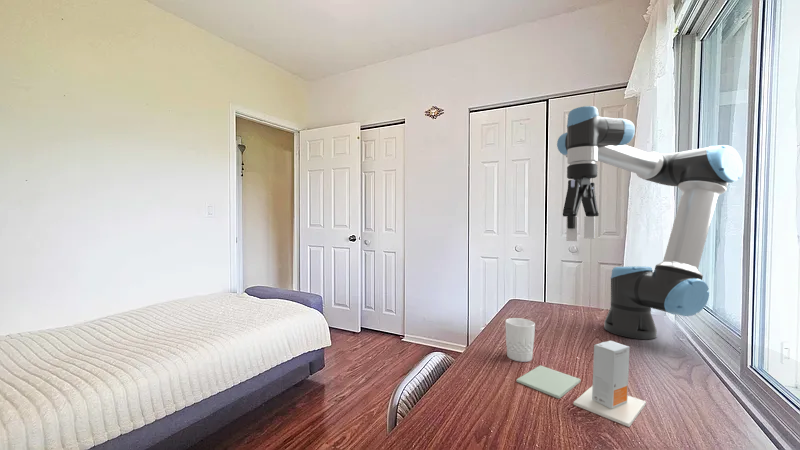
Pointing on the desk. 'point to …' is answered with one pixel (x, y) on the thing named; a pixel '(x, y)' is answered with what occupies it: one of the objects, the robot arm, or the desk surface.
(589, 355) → the desk surface
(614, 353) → the skincare box
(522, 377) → the shorter pad
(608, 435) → the desk surface
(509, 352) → the white cup
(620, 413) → the taller pad
